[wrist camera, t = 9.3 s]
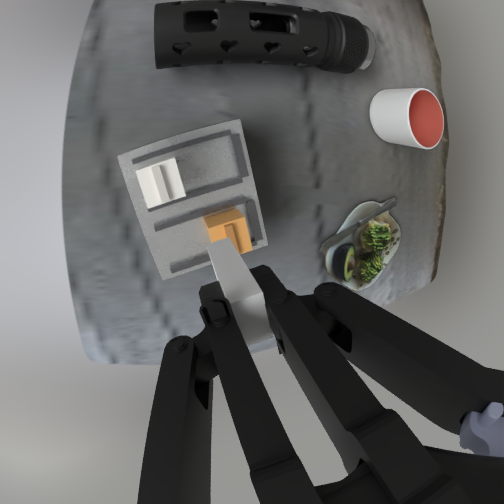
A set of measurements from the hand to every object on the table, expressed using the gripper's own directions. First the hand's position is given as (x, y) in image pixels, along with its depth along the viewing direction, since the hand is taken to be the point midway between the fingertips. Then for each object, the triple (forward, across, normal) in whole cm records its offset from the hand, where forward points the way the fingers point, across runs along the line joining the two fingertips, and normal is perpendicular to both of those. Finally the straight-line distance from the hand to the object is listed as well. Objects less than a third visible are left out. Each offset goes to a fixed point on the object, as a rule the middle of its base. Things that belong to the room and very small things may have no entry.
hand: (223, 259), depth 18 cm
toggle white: (+15, -3, +4) cm, 16 cm away
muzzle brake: (+24, +14, +19) cm, 34 cm away
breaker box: (+23, 0, 0) cm, 23 cm away
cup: (+24, +36, +5) cm, 43 cm away
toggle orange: (+15, +2, -4) cm, 16 cm away
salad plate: (+24, +27, -19) cm, 41 cm away
